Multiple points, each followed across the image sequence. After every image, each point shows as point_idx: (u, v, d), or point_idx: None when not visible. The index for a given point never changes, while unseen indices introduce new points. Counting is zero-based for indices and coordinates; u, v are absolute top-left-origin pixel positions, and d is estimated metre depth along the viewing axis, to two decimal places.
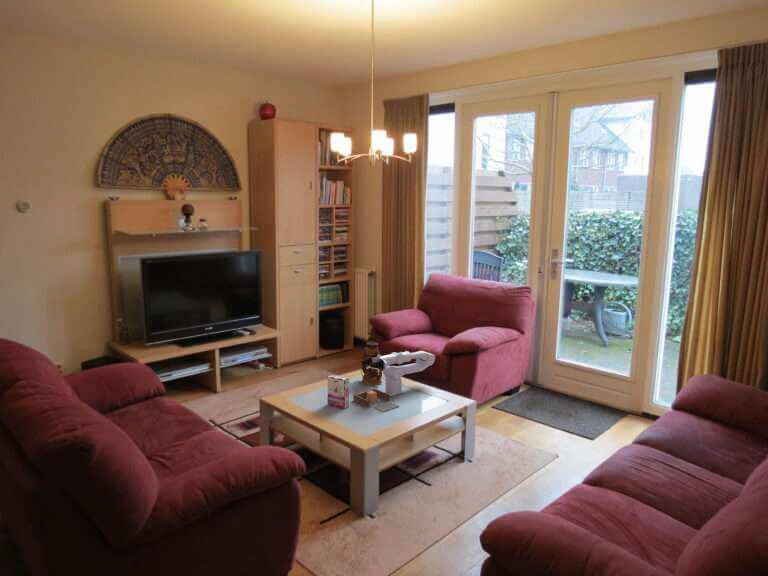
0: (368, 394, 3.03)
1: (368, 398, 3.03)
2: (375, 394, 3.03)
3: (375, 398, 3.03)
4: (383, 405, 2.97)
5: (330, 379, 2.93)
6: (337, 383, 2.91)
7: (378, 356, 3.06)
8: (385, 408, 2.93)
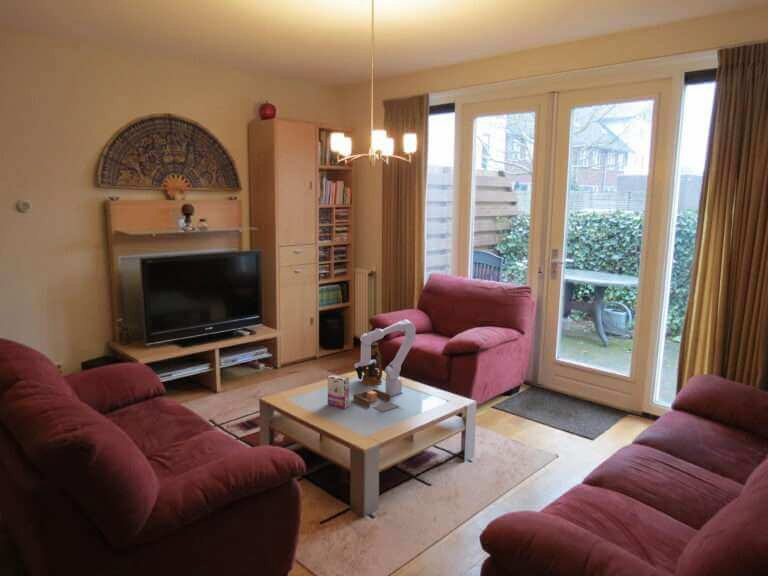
0: (368, 394, 3.03)
1: (368, 398, 3.03)
2: (375, 394, 3.03)
3: (375, 398, 3.03)
4: (383, 405, 2.97)
5: (330, 379, 2.93)
6: (337, 383, 2.91)
7: None
8: (385, 408, 2.93)
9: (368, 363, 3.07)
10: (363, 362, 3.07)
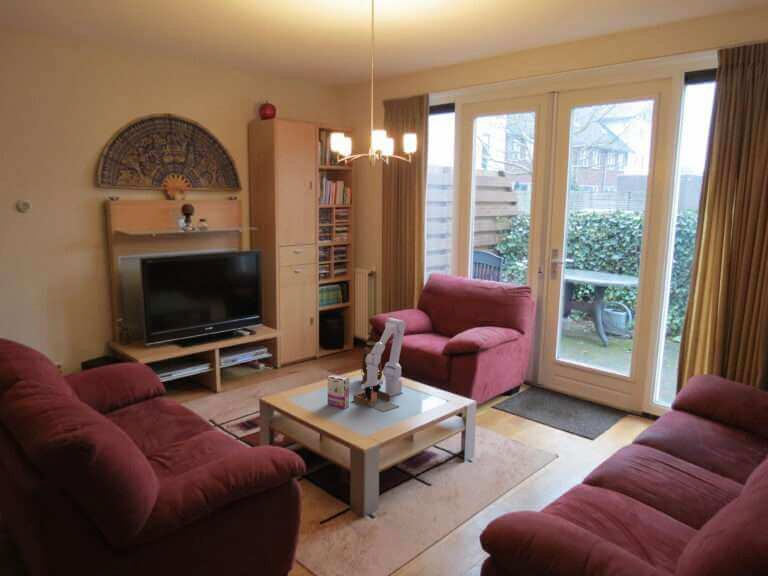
0: None
1: None
2: (375, 394, 3.03)
3: (375, 397, 3.03)
4: (383, 405, 2.97)
5: (330, 379, 2.93)
6: (337, 383, 2.91)
7: None
8: (385, 408, 2.93)
9: (375, 384, 3.00)
10: (370, 383, 3.00)
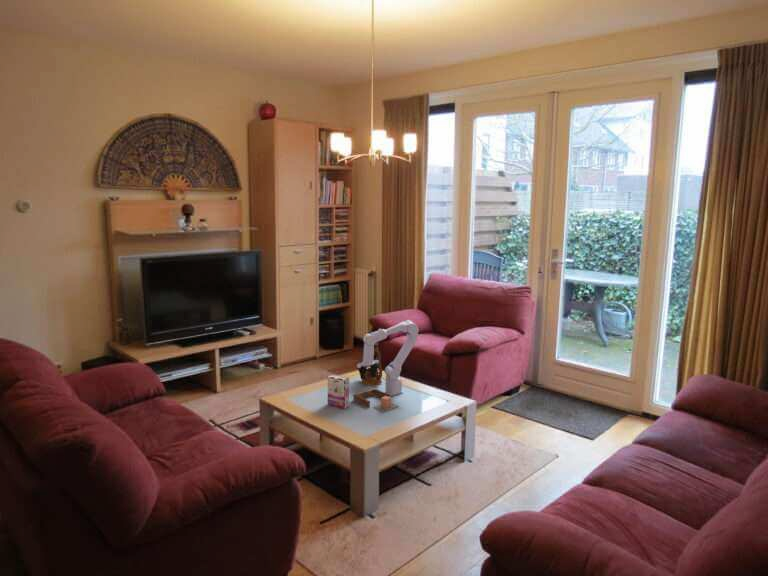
0: (383, 399, 2.94)
1: (383, 404, 2.94)
2: (390, 399, 2.94)
3: (390, 403, 2.95)
4: None
5: (330, 379, 2.93)
6: (337, 383, 2.91)
7: None
8: (385, 408, 2.93)
9: (371, 363, 3.07)
10: (366, 362, 3.07)
